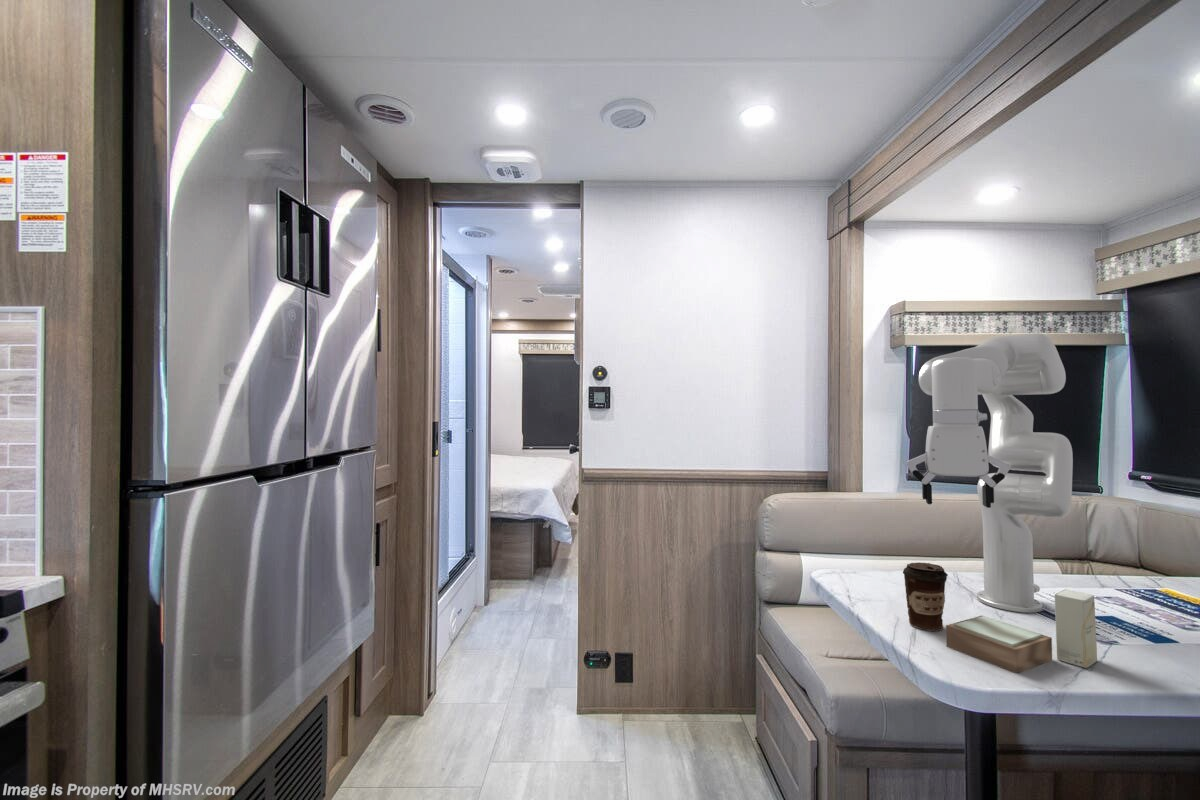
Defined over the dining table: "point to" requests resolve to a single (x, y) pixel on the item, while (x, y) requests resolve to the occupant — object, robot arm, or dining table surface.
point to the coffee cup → (925, 595)
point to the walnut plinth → (999, 643)
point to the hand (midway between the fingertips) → (957, 504)
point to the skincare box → (1075, 628)
